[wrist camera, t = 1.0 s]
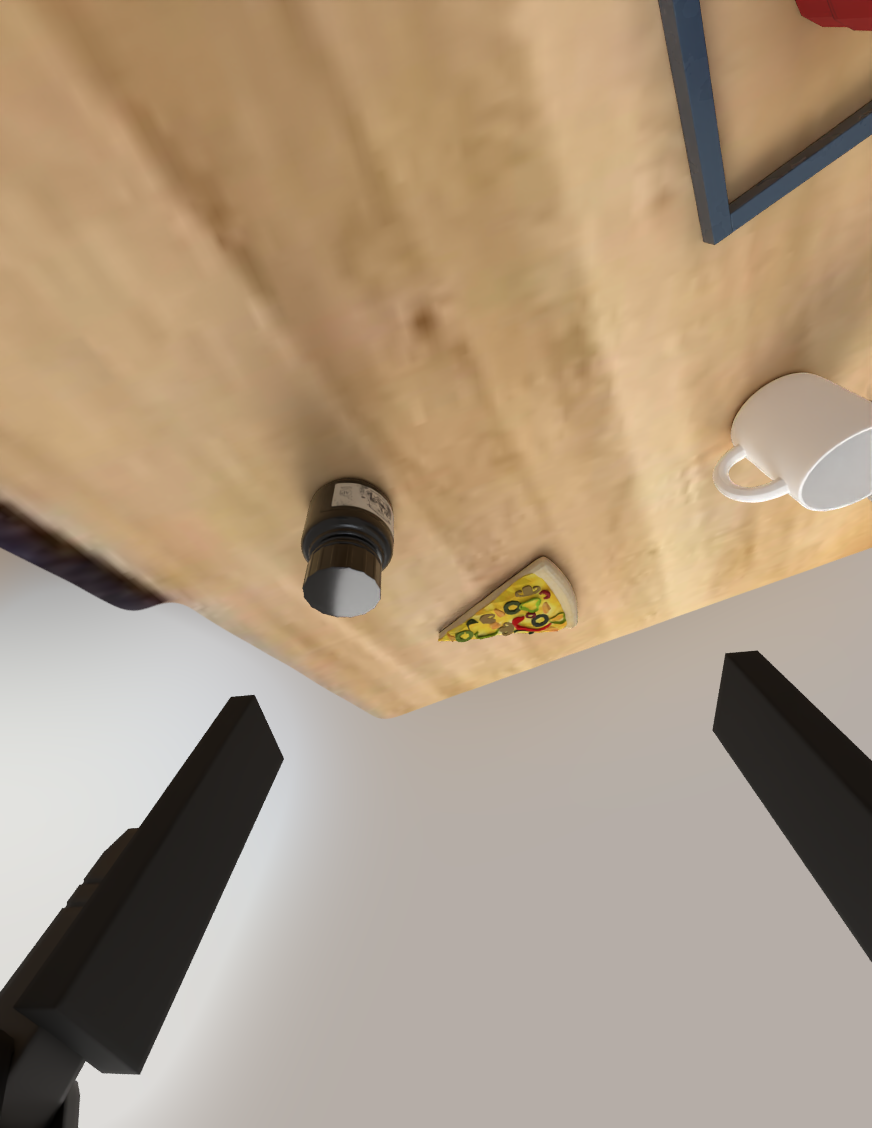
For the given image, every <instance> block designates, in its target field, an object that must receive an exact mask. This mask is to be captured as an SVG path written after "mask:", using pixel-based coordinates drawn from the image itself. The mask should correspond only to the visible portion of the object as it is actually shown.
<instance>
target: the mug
mask: <svg viewBox="0 0 872 1128" xmlns="http://www.w3.org/2000/svg"><path fill="white" fill-rule="evenodd" d="M731 440H732V443H733V445H734V447H733V448H731V449H730V450H729V451H727V452H726V453H725V454H724V455H723V456H722V457H721V458H720V459H719V460H718V462H717V463H716V465H715V467H714V470H713V482H714V484H715V486H716V488H717V489H718V490H719V491H720V492H721V493H722V494H723V495H725V496H726V497H728V498H730V499H733V500H736V501H741V502H762V501H767V500H771V499H774V498H777V497H780V496H783V495H785V494H787V493H788V494H789V495H790V496H792V497H793V498H794V499H795V500H796V501H798V502H799V503H800V504H801V505H802V506H803V507H805V508H807V509H810V510H813V511H828V510H834V509H838V508H842V507H845V506H848V505H851V504H853V503H856V502H858V501H860V500H862V499H864V498H866V497H868V496H870V495H871V494H872V402H871V401H869V400H867V399H865V398H863V397H861V396H859V395H857V394H855V393H853V392H851V391H849V390H847V389H845V388H843V387H841V386H839V385H837V384H835V383H833V382H831V381H830V380H828V379H825V378H823V377H821V376H818V375H815V374H812V373H793V374H789V375H786V376H783V377H780V378H778V379H776V380H774V381H772V382H770V383H768V384H767V385H765V386H764V387H762V388H761V389H759V390H758V391H757V392H755V393H754V394H753V395H752V396H751V397H750V398H749V399H748V400H747V401H746V402H745V403H744V405H743V406H742V407H741V409H740V410H739V412H738V413H737V415H736V417H735V419H734V421H733V424H732V428H731ZM745 457H746V458H747V459H748V460H749V461H750V462H752V463H753V464H754V465H755V466H756V467H757V468H758V469H760V470H761V471H762V472H763V473H764V474H766V475H767V476H768V477H769V478H770V479H771V480H773V481H771V482H769V483H766V484H764V485H761V486H756V487H742V486H739V485H737V484H735V483H733V482H732V481H731V480H730V478H729V470H730V468H731V467H732V466H733V465H734V464H735V463H737V462H738V461H740V460H741V459H743V458H745Z"/></svg>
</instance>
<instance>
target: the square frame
mask: <svg viewBox="0 0 872 1128" xmlns="http://www.w3.org/2000/svg"><path fill="white" fill-rule="evenodd" d="M658 1H659V7H660V12H661V17H662V23H663V28H664V33H665V39H666V44H667V49H668V55H669V60H670V65H671V71H672V76H673V81H674V87H675V92H676V97H677V103H678V108H679V113H680V119H681V124H682V129H683V135H684V140H685V145H686V151H687V156H688V161H689V167H690V172H691V177H692V183H693V188H694V193H695V199H696V204H697V209H698V215H699V220H700V225H701V231H702V236H703V241H704V242H706V243H709V244H713V245H715V244H717V243H718V242H720V241H721V240H722V239H724V238H725V237H727V236H728V235H730V234H731V233H732V232H733V231H735V230H736V229H738V228H739V227H741V226H742V225H744V224H745V223H746V222H748V221H749V220H751V219H752V218H753V217H755V216H756V215H758V214H759V213H761V212H762V211H763V210H765V209H766V208H768V207H769V206H771V205H772V204H773V203H775V202H776V201H778V200H779V199H781V198H782V197H783V196H785V195H786V194H788V193H789V192H790V191H792V190H793V189H795V188H796V187H798V186H799V185H800V184H802V183H803V182H805V181H806V180H808V179H809V178H810V177H812V176H813V175H815V174H816V173H817V172H819V171H820V170H822V169H823V168H825V167H826V166H827V165H829V164H830V163H832V162H833V161H835V160H836V159H837V158H839V157H840V156H842V155H843V154H845V153H846V152H847V151H849V150H850V149H852V148H853V147H854V146H856V145H857V144H859V143H860V142H862V141H863V140H864V139H866V138H867V137H869V136H870V135H872V101H871V102H869V103H868V104H867V105H865V106H864V107H863V108H861V109H860V110H858V111H857V112H856V113H854V114H853V115H852V116H850V117H849V118H847V119H846V120H845V121H843V122H842V123H841V124H839V125H838V126H836V127H835V128H834V129H832V130H831V131H830V132H828V133H827V134H825V135H824V136H823V137H821V138H820V139H819V140H817V141H816V142H814V143H813V144H812V145H810V146H809V147H808V148H806V149H805V150H803V151H802V152H801V153H799V154H798V155H797V156H795V157H794V158H792V159H791V160H790V161H788V162H787V163H786V164H784V165H783V166H782V167H780V168H779V169H777V170H776V171H775V172H773V173H772V174H771V175H769V176H768V177H766V178H765V179H764V180H762V181H761V182H760V183H758V184H757V185H755V186H754V187H753V188H751V189H750V190H749V191H747V192H746V193H744V194H743V195H742V196H740V197H739V198H738V199H736V200H735V201H733V202H732V203H731V204H728V197H727V190H726V183H725V176H724V169H723V162H722V155H721V148H720V141H719V134H718V127H717V121H716V114H715V107H714V100H713V93H712V86H711V79H710V72H709V65H708V58H707V51H706V44H705V37H704V30H703V23H702V16H701V9H700V2H699V0H658Z"/></svg>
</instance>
